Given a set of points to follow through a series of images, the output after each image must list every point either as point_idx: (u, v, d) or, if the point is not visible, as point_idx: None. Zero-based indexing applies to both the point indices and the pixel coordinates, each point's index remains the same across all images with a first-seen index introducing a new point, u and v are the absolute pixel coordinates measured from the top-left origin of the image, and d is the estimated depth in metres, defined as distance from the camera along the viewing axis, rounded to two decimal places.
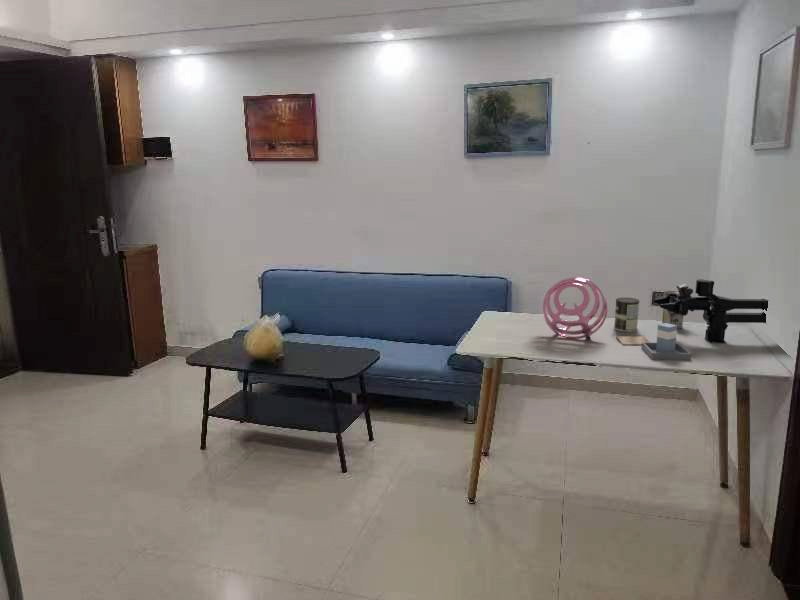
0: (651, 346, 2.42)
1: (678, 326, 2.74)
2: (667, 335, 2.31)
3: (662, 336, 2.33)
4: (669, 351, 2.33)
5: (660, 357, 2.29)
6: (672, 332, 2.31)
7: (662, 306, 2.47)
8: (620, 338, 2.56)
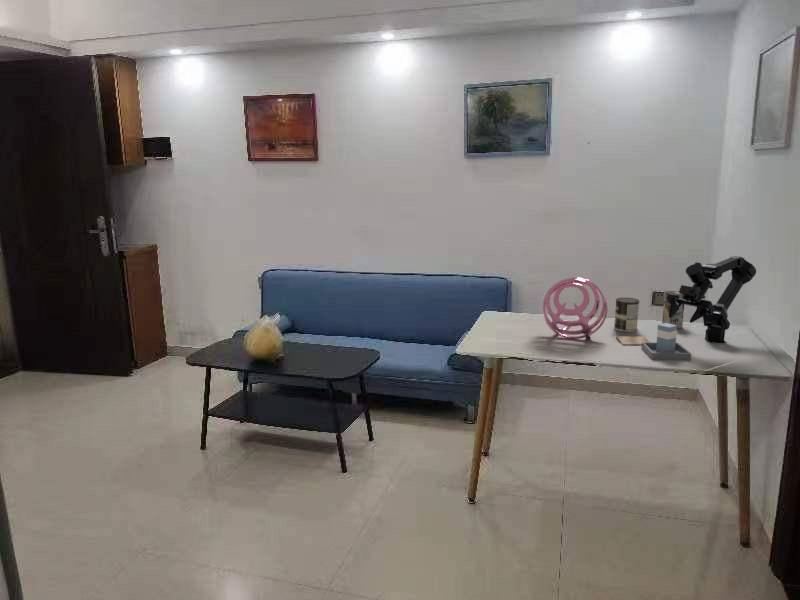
0: (651, 346, 2.42)
1: (678, 326, 2.74)
2: (667, 335, 2.31)
3: (662, 336, 2.33)
4: (669, 351, 2.33)
5: (660, 357, 2.29)
6: (672, 332, 2.31)
7: (692, 320, 2.33)
8: (620, 338, 2.56)
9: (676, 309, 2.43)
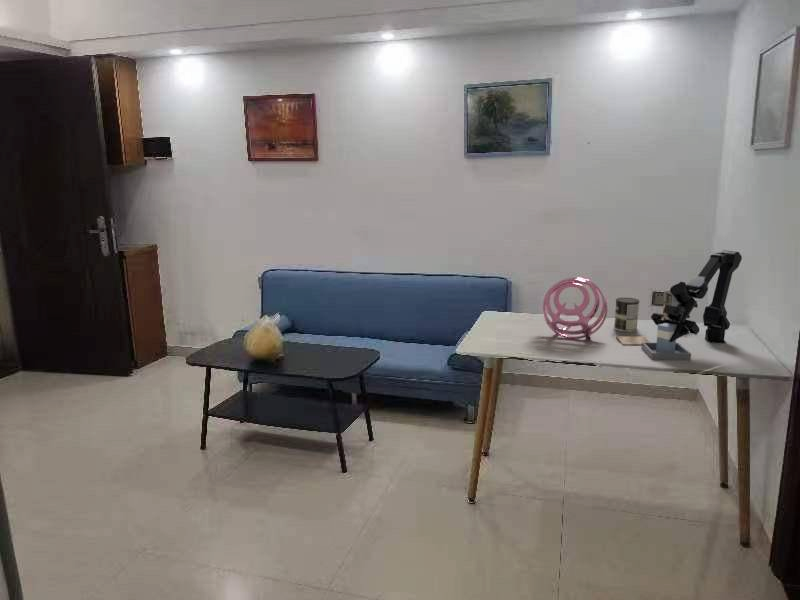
0: (651, 346, 2.42)
1: None
2: (667, 335, 2.31)
3: (662, 336, 2.33)
4: (669, 351, 2.33)
5: (660, 357, 2.29)
6: (672, 332, 2.31)
7: (672, 340, 2.31)
8: (620, 338, 2.56)
9: None
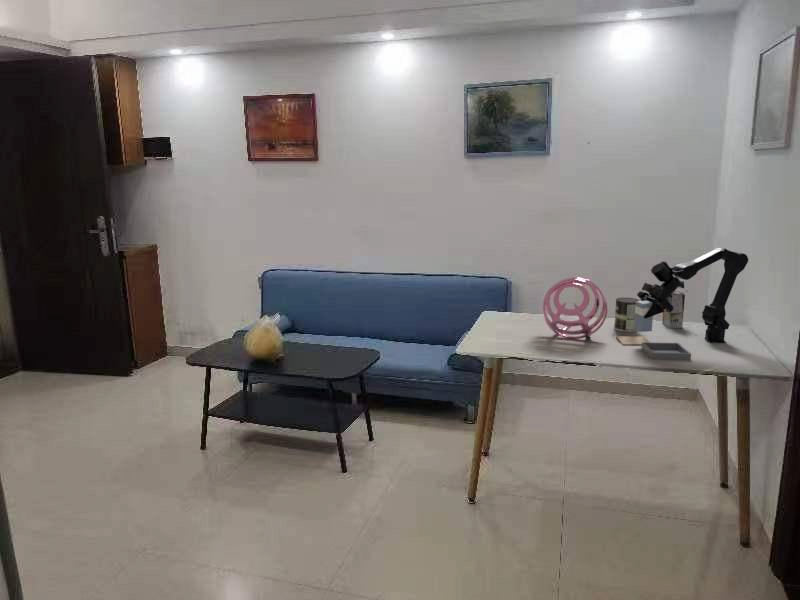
0: (651, 346, 2.42)
1: (678, 326, 2.74)
2: (641, 311, 2.41)
3: (638, 312, 2.43)
4: (643, 327, 2.42)
5: (660, 357, 2.29)
6: (647, 308, 2.41)
7: (646, 316, 2.41)
8: (620, 338, 2.56)
9: None
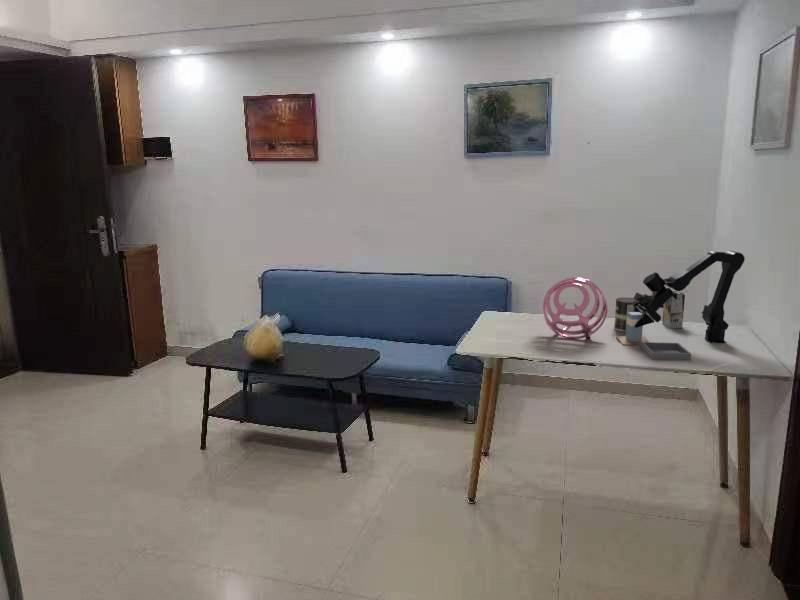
0: (651, 346, 2.42)
1: (678, 326, 2.74)
2: (630, 322, 2.49)
3: (628, 322, 2.52)
4: (632, 337, 2.50)
5: (660, 357, 2.29)
6: (636, 319, 2.49)
7: (637, 326, 2.47)
8: (620, 338, 2.56)
9: None
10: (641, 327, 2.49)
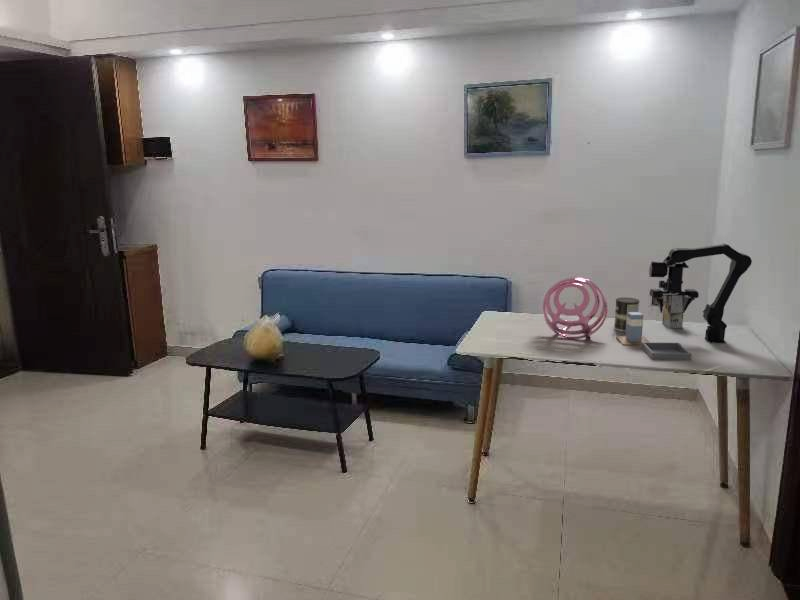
0: (651, 346, 2.42)
1: (678, 326, 2.74)
2: (630, 322, 2.49)
3: (628, 322, 2.52)
4: (632, 337, 2.50)
5: (660, 357, 2.29)
6: (636, 319, 2.49)
7: (660, 310, 2.55)
8: (620, 338, 2.56)
9: (686, 301, 2.51)
10: (641, 327, 2.49)
